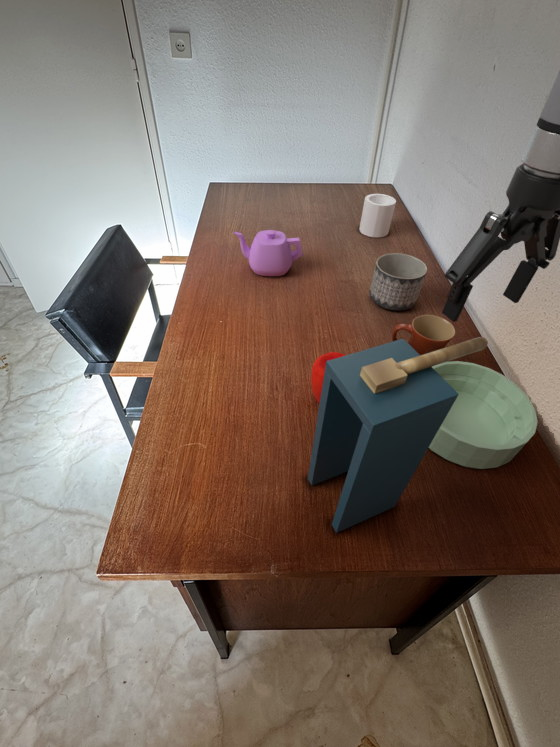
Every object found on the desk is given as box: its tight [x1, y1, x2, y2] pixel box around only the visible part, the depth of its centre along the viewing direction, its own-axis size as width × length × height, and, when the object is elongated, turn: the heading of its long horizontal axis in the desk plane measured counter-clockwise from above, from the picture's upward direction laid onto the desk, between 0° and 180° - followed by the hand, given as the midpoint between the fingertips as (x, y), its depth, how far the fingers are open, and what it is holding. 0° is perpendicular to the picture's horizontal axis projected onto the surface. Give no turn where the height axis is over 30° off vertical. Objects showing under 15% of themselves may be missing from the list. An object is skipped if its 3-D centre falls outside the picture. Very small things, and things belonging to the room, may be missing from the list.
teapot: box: [232, 229, 304, 277], centre depth 107 cm, size 13×20×11 cm
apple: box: [310, 351, 347, 404], centre depth 72 cm, size 9×9×11 cm
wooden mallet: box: [360, 336, 489, 394], centre depth 43 cm, size 17×3×2 cm, turn 113°
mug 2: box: [358, 193, 397, 238], centre depth 127 cm, size 14×10×11 cm
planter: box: [368, 252, 428, 311], centre depth 97 cm, size 13×13×10 cm
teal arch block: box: [307, 338, 459, 533], centre depth 52 cm, size 10×11×28 cm
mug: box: [391, 314, 456, 355], centre depth 80 cm, size 12×9×10 cm
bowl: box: [428, 360, 539, 470], centre depth 70 cm, size 21×21×7 cm
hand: (480, 307), depth 62 cm, fingers open, 13 cm apart
